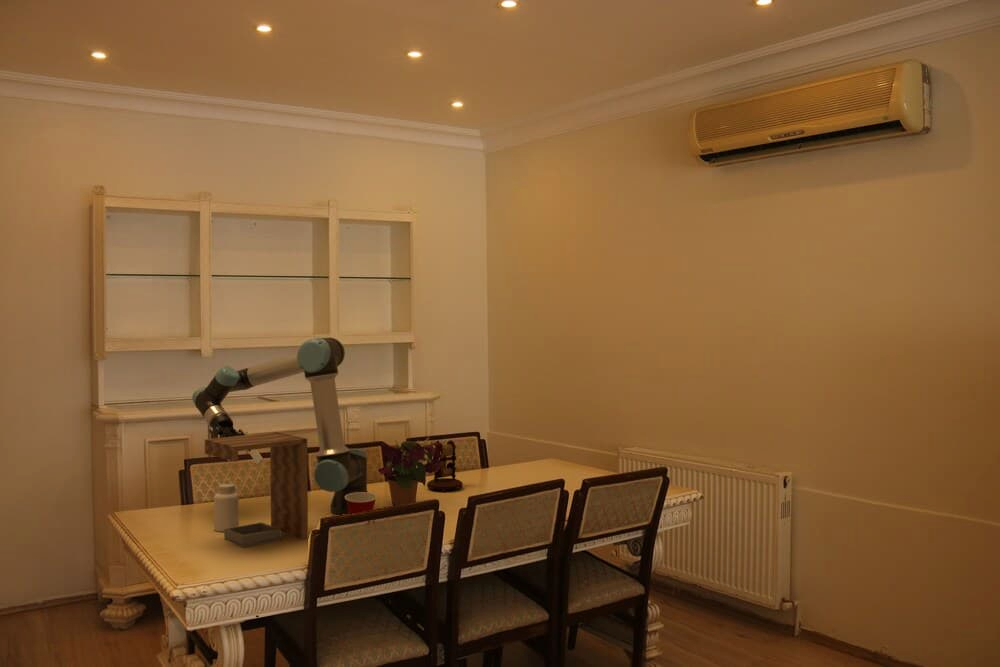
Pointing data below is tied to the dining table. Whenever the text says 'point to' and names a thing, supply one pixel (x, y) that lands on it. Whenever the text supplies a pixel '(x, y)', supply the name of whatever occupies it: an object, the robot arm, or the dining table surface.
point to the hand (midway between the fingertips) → (246, 460)
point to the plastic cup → (360, 501)
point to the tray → (252, 534)
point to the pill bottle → (226, 508)
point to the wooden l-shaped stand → (276, 475)
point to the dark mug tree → (446, 470)
